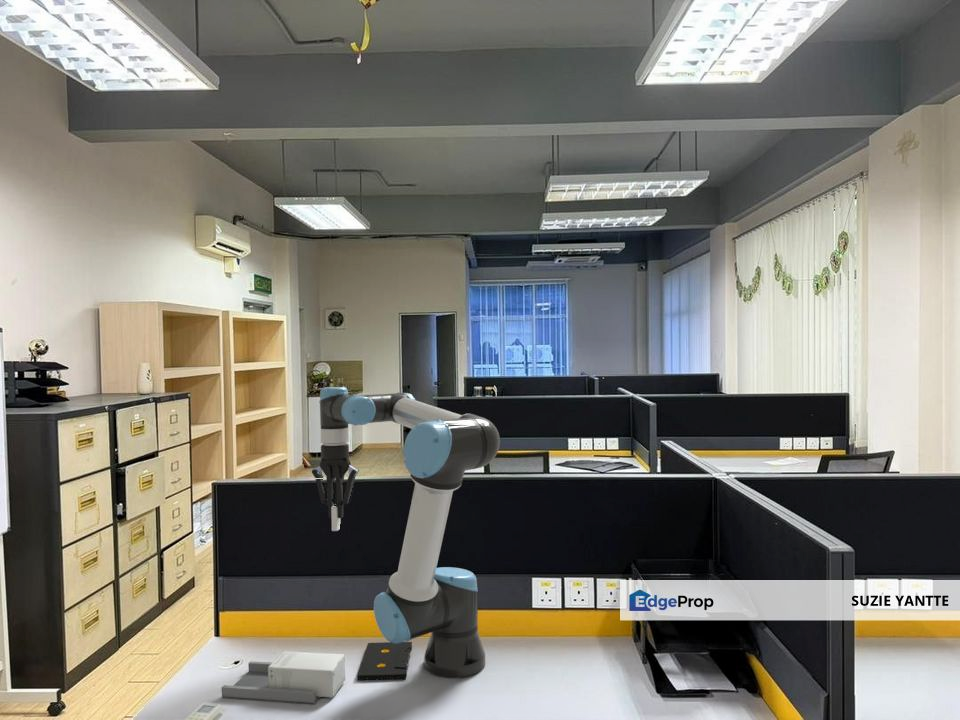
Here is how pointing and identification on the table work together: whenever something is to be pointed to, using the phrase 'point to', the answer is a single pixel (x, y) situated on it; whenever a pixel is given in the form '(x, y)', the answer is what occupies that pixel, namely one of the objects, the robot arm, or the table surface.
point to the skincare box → (308, 672)
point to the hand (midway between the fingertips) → (336, 529)
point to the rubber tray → (264, 688)
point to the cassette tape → (385, 661)
